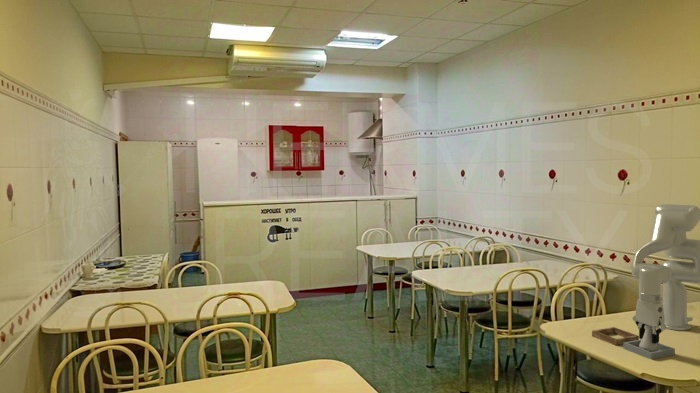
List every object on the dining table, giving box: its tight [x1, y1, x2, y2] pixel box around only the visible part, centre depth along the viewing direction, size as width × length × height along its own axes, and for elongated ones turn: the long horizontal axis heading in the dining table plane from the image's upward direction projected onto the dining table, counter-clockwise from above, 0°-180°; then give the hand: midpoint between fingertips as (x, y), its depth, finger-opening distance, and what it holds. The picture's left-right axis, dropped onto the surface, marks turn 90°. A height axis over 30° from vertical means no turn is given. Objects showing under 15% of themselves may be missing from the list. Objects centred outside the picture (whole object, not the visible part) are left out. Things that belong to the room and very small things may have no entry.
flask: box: [639, 324, 659, 352], centre depth 204 cm, size 7×7×10 cm
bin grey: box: [622, 338, 676, 360], centre depth 205 cm, size 13×13×2 cm
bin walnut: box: [591, 326, 640, 346], centre depth 220 cm, size 13×13×2 cm
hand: (648, 340), depth 205 cm, fingers closed on flask, 5 cm apart
